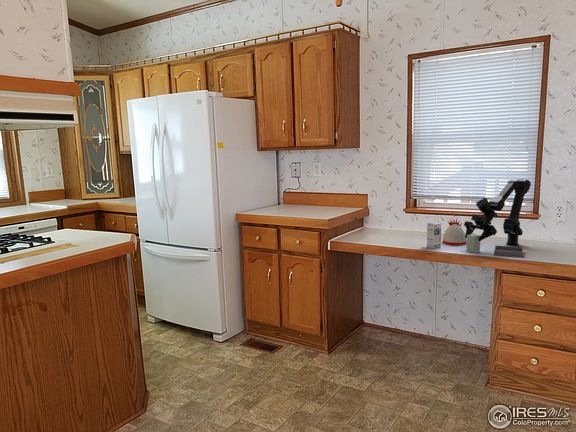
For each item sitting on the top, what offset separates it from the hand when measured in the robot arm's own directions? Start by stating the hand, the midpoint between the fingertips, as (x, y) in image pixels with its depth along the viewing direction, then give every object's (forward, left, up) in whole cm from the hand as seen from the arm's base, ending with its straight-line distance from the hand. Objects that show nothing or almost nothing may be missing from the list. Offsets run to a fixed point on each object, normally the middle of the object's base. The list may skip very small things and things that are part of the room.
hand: (472, 239), depth 252 cm
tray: (-2, +19, -7) cm, 20 cm away
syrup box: (-4, -21, -7) cm, 23 cm away
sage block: (-1, +1, -7) cm, 7 cm away
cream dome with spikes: (-20, -11, -7) cm, 24 cm away
